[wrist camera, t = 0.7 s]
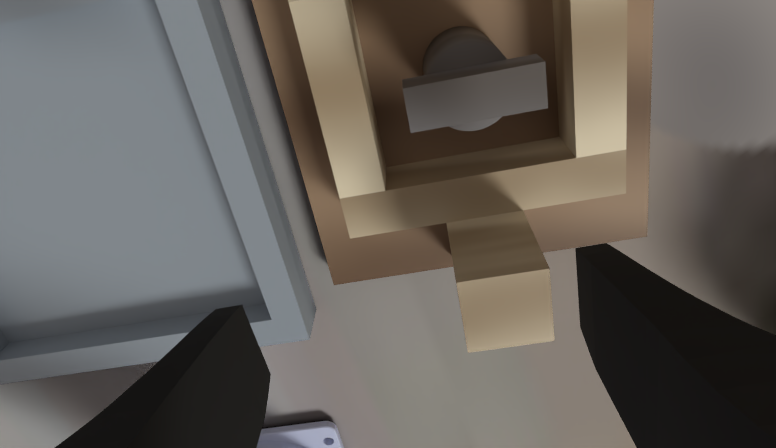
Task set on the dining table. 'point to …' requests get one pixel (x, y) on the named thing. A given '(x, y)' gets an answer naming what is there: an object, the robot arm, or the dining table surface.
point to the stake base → (457, 116)
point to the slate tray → (132, 188)
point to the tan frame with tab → (479, 164)
